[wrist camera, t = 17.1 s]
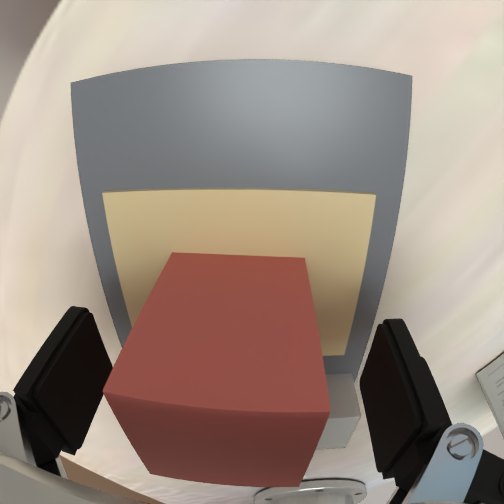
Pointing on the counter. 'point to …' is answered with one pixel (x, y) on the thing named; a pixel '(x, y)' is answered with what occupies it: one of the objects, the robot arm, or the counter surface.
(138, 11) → the counter surface
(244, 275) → the red block
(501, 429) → the small box
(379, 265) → the breaker panel
